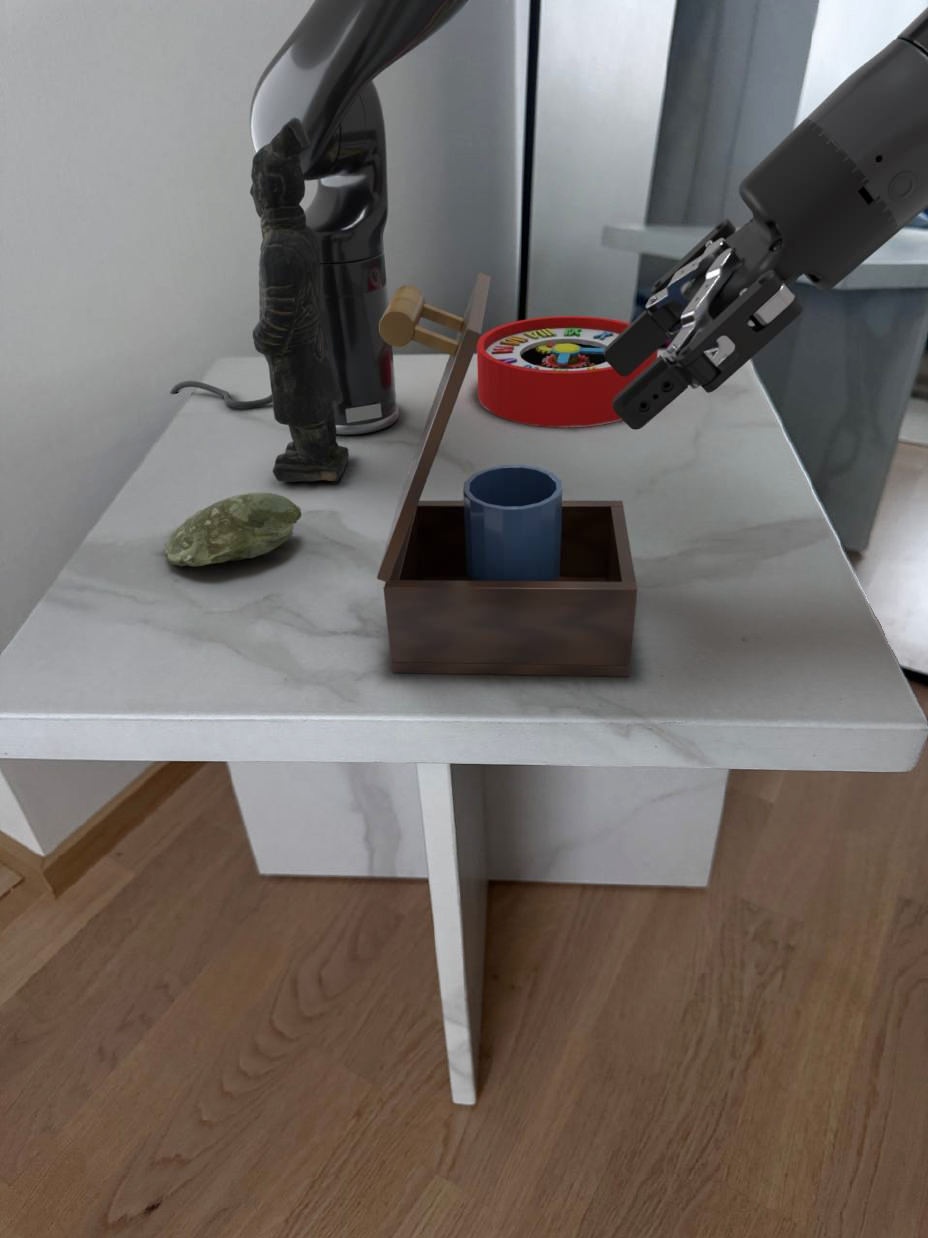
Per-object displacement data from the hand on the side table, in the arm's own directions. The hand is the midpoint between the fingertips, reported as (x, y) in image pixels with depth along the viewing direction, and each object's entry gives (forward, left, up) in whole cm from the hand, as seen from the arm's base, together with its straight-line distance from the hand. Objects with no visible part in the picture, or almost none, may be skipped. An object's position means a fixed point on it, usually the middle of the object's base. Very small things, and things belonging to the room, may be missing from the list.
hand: (617, 390), depth 52 cm
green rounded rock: (-31, -8, -18) cm, 36 cm away
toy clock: (-27, +37, -18) cm, 49 cm away
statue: (-36, +6, -18) cm, 40 cm away
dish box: (-5, -4, -17) cm, 18 cm away
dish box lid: (-9, -6, -2) cm, 11 cm away
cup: (-5, -3, -16) cm, 18 cm away
